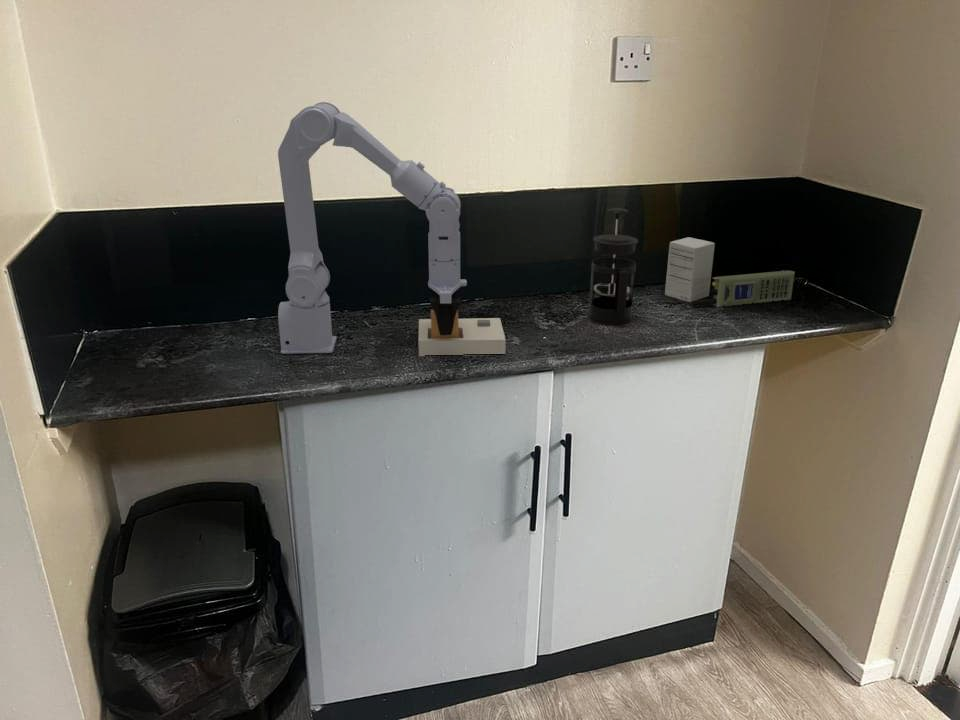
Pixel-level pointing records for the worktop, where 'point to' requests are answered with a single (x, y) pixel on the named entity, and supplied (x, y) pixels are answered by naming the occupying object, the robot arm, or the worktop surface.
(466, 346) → the socket
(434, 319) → the plug
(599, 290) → the french press
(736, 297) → the handheld radio
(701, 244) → the grey drawer unit
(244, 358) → the worktop surface
